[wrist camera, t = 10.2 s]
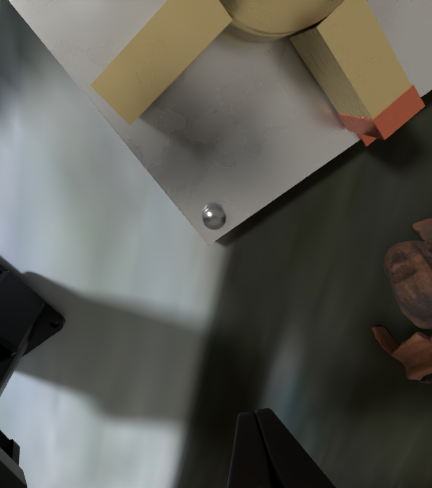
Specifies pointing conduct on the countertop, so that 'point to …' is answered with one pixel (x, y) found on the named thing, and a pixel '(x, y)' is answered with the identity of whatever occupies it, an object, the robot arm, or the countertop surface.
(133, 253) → the countertop surface
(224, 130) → the flange plate
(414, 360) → the brown clawed figurine
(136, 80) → the brass cross latch
